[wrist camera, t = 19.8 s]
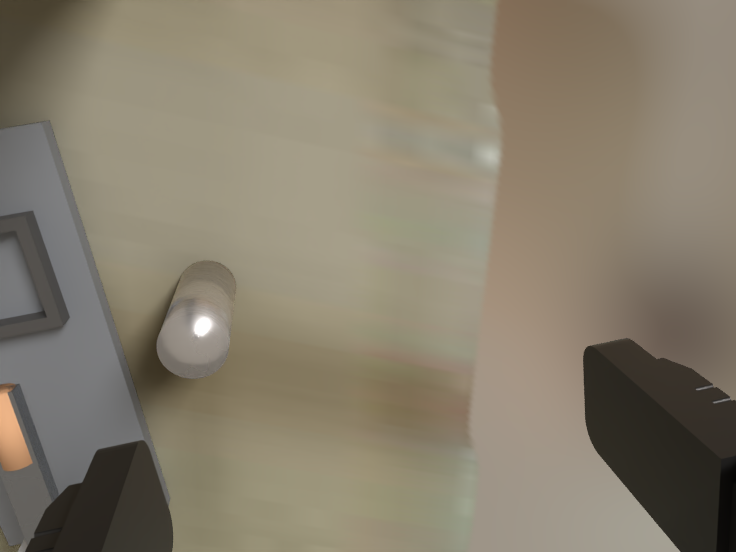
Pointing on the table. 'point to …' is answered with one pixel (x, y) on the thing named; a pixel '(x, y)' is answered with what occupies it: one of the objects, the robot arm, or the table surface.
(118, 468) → the robot arm
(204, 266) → the translucent white cylinder
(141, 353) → the table surface
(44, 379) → the grey flat base
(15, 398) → the lever
